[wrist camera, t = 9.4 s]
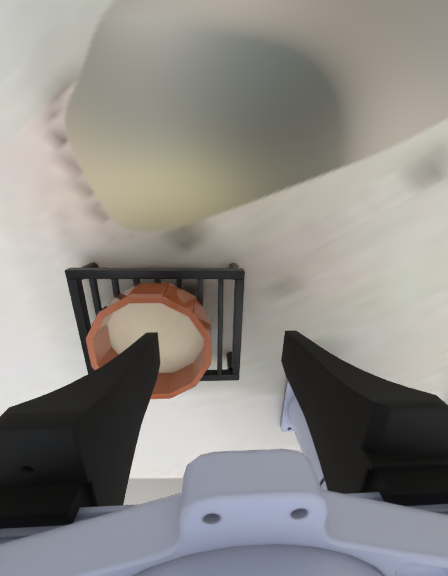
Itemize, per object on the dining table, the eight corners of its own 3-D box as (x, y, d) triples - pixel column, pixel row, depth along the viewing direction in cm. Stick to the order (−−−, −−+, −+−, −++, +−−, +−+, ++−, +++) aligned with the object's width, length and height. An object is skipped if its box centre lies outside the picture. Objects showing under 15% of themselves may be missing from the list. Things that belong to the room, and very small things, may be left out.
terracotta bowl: (210, 282, 19) (210, 296, 16) (210, 372, 22) (210, 397, 19) (96, 282, 18) (76, 297, 15) (113, 374, 21) (98, 400, 18)
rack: (240, 261, 22) (244, 270, 19) (235, 359, 25) (239, 380, 22) (85, 260, 21) (64, 270, 18) (104, 361, 24) (90, 383, 22)
